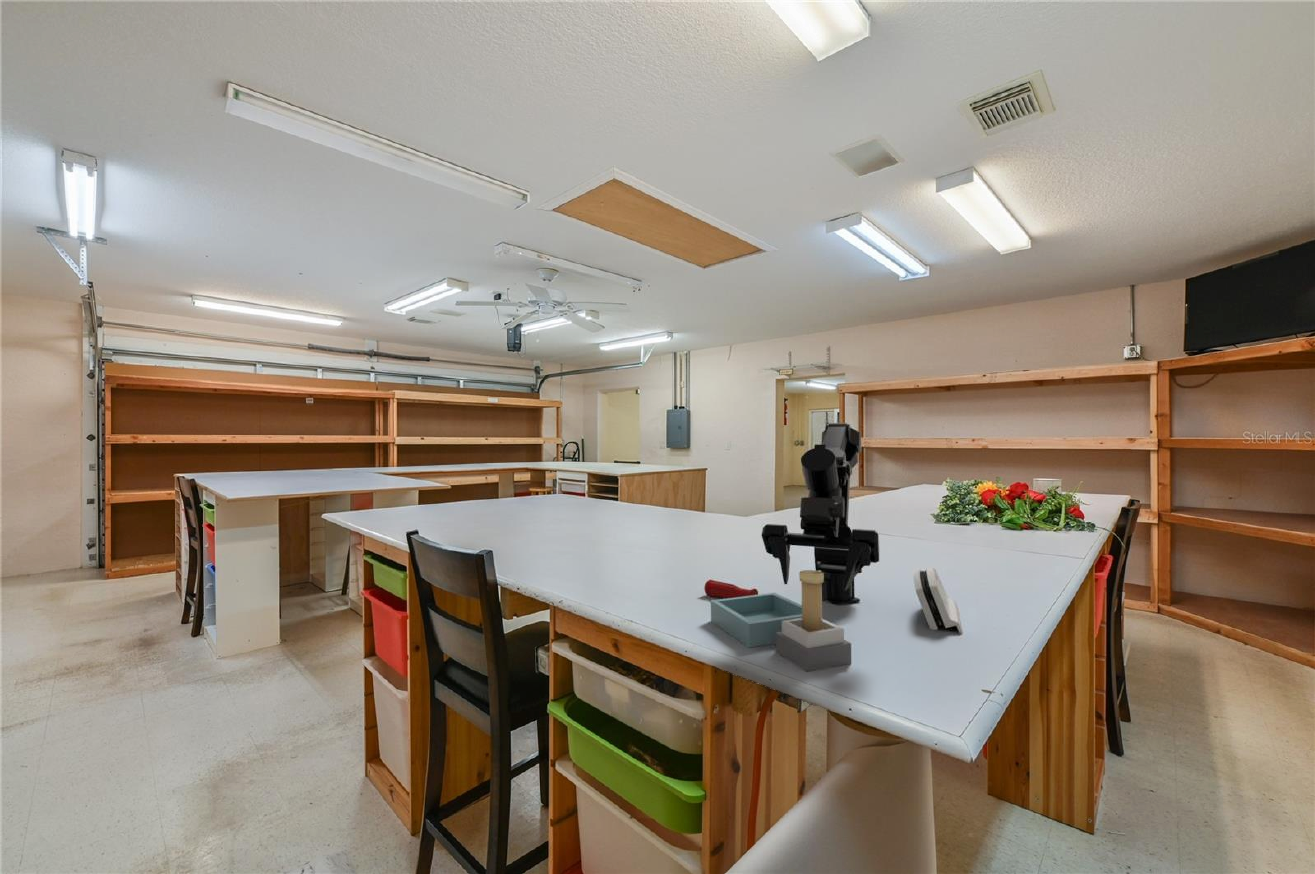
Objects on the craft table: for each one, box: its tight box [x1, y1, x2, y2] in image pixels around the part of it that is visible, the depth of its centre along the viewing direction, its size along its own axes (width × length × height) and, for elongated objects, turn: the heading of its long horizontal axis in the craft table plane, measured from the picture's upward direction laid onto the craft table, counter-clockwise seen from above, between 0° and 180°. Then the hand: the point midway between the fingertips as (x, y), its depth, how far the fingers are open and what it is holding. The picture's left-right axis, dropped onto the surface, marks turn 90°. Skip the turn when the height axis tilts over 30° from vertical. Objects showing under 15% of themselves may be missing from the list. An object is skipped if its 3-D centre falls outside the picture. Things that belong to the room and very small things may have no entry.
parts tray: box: [710, 592, 802, 648], centre depth 94 cm, size 14×14×4 cm
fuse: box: [799, 569, 824, 632], centre depth 81 cm, size 4×4×10 cm
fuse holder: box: [775, 618, 852, 672], centre depth 81 cm, size 8×8×5 cm
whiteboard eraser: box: [913, 567, 964, 634], centre depth 99 cm, size 17×5×10 cm, turn 152°
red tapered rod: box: [703, 579, 759, 599], centre depth 107 cm, size 4×25×4 cm, turn 49°
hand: (814, 586), depth 83 cm, fingers open, 9 cm apart
